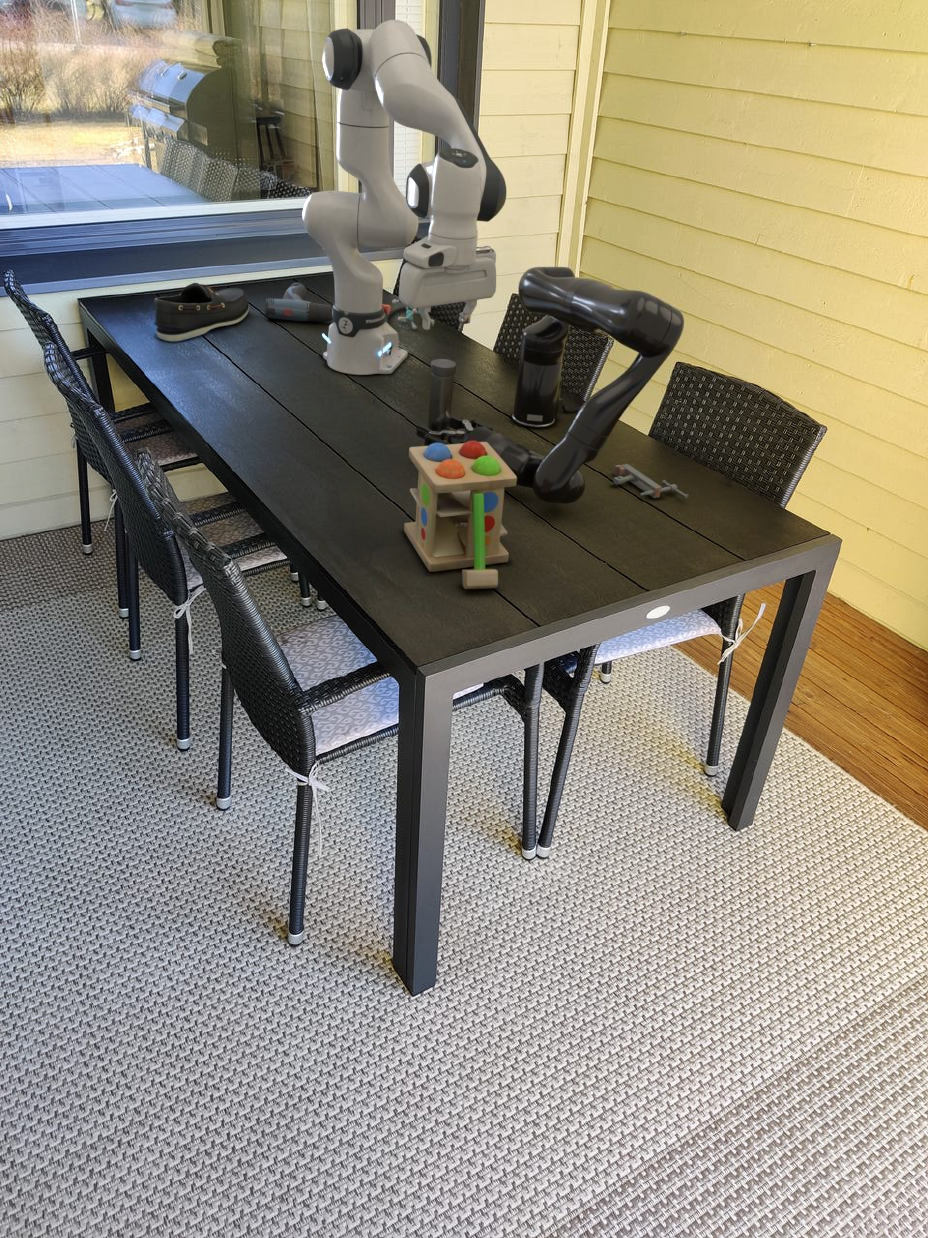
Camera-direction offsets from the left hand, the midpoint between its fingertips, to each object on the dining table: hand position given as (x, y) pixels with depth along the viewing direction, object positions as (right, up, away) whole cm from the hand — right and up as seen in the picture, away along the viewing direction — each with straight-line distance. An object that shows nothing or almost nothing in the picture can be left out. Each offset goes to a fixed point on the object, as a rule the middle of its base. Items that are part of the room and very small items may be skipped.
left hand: (446, 325), depth 184 cm
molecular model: (-11, +25, +82) cm, 87 cm away
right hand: (-3, -16, +12) cm, 21 cm away
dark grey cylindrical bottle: (-2, -22, +15) cm, 27 cm away
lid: (-1, -6, +4) cm, 8 cm away
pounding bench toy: (+3, -45, -19) cm, 49 cm away
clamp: (+39, -30, +9) cm, 50 cm away
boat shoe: (-64, +21, +68) cm, 96 cm away
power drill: (-40, +28, +83) cm, 96 cm away
